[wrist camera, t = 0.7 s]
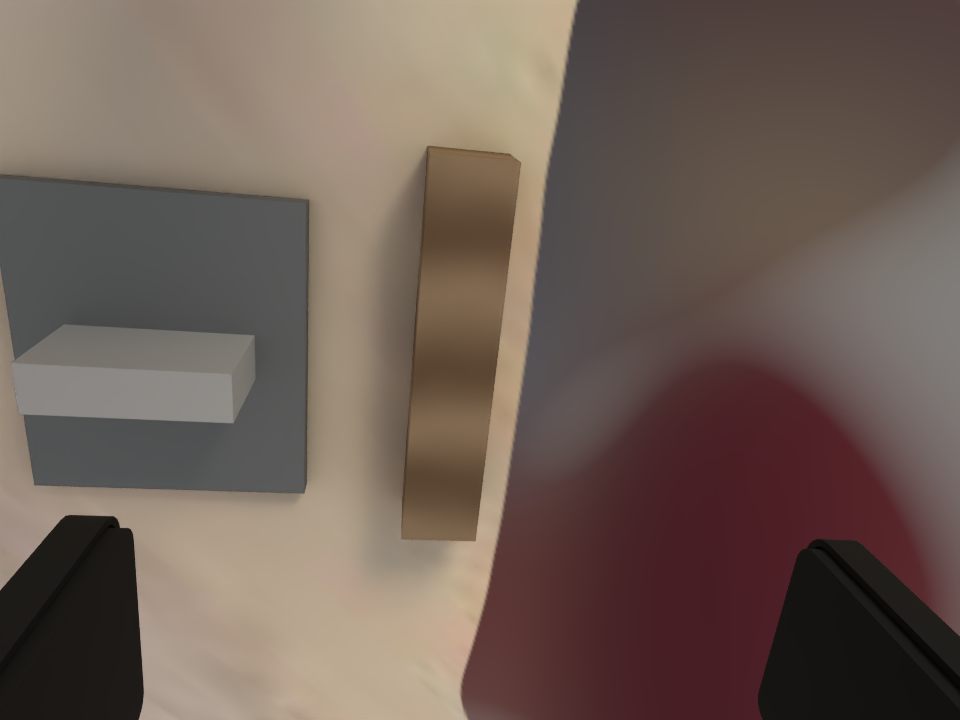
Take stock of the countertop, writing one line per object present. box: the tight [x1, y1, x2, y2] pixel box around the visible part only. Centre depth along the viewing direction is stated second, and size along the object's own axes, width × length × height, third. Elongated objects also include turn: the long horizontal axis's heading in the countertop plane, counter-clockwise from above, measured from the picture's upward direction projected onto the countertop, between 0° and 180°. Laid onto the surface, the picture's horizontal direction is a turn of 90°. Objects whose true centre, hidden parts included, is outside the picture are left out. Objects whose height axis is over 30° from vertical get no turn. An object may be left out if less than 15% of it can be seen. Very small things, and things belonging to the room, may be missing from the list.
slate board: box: [0, 175, 309, 493], centre depth 33 cm, size 16×14×6 cm
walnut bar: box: [401, 146, 521, 541], centre depth 36 cm, size 20×4×4 cm, turn 174°
